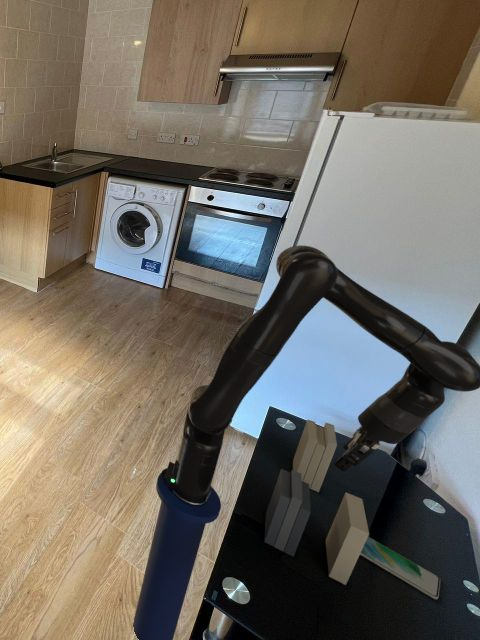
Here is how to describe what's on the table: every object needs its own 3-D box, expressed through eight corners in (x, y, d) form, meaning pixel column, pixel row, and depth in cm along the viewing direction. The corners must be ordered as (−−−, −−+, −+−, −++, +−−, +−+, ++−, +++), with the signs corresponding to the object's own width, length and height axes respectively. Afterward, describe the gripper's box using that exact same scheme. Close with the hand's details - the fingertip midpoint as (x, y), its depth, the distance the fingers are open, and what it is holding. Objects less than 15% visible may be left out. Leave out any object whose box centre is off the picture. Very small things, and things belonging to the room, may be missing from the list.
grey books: (264, 542, 101) (281, 491, 96) (265, 513, 109) (282, 465, 104) (293, 556, 98) (313, 505, 93) (293, 526, 106) (311, 477, 100)
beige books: (293, 481, 119) (309, 435, 114) (292, 460, 127) (308, 416, 122) (318, 492, 116) (337, 445, 111) (316, 470, 123) (334, 425, 118)
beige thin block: (328, 576, 94) (350, 525, 89) (325, 540, 102) (345, 492, 97) (345, 585, 92) (369, 533, 87) (341, 547, 100) (362, 498, 96)
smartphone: (438, 599, 89) (349, 545, 100) (437, 602, 89) (348, 548, 100) (441, 577, 93) (355, 528, 104) (439, 580, 94) (354, 531, 105)
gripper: (377, 392, 96) (333, 433, 104) (364, 417, 87) (317, 460, 96) (417, 416, 91) (368, 457, 99) (408, 445, 83) (354, 487, 91)
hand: (343, 458), depth 98 cm, fingers open, 8 cm apart
